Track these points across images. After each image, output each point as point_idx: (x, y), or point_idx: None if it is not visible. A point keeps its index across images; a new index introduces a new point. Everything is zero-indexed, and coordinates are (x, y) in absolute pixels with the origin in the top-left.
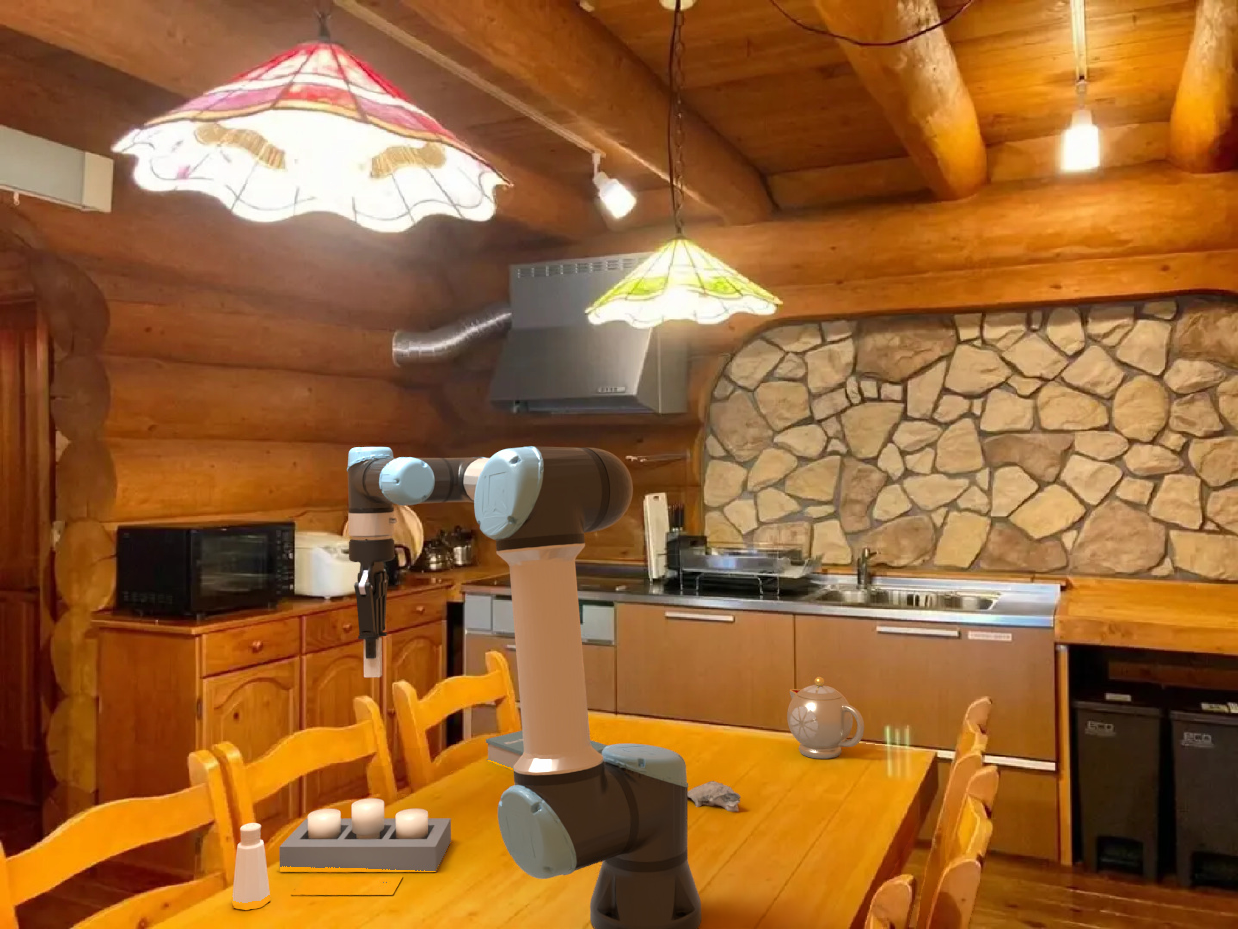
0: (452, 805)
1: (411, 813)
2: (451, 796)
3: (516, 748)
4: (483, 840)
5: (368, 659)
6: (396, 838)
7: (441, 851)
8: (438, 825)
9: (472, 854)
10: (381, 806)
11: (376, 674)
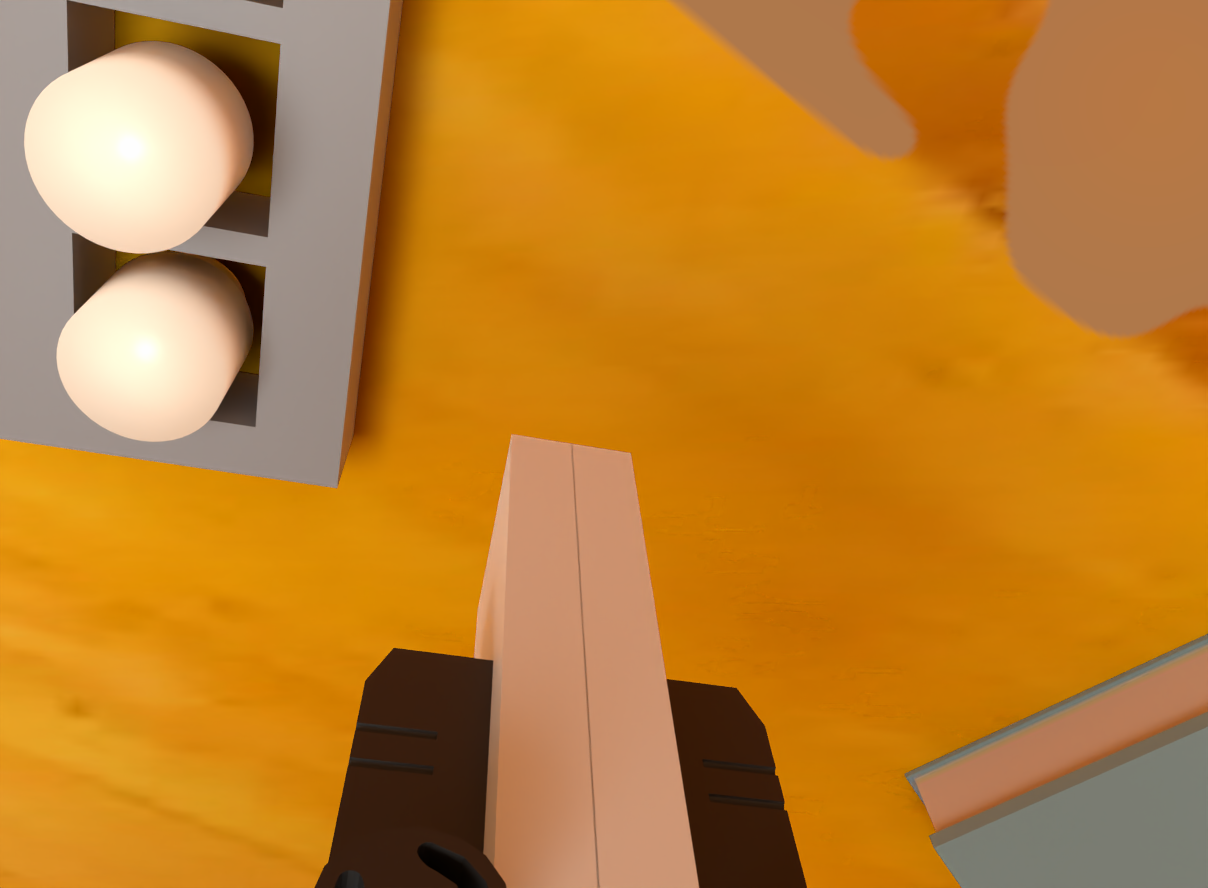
0: (805, 435)
1: (148, 370)
2: (927, 429)
3: (1203, 738)
4: (368, 546)
5: (491, 649)
6: (135, 261)
7: None
8: (249, 442)
9: (226, 509)
10: (95, 241)
11: (483, 599)
